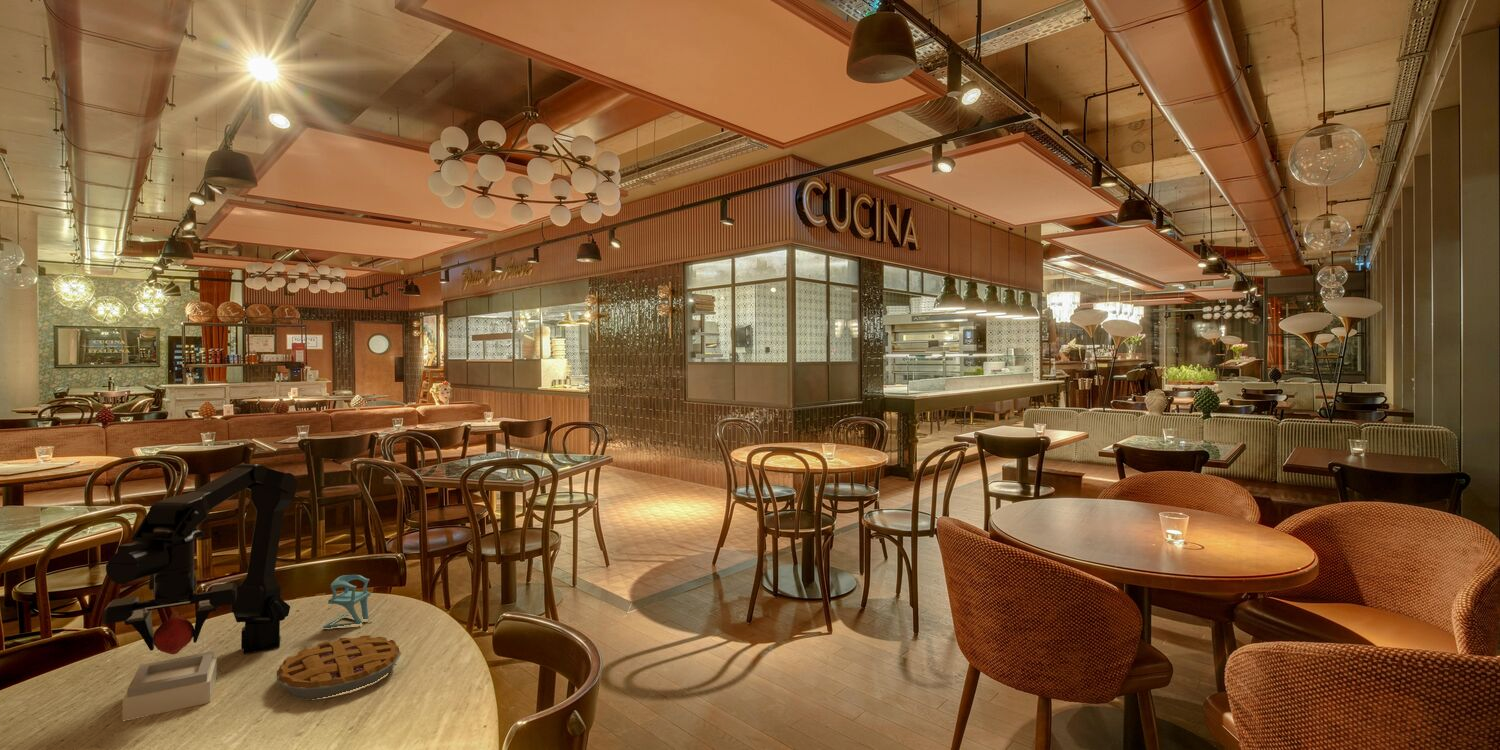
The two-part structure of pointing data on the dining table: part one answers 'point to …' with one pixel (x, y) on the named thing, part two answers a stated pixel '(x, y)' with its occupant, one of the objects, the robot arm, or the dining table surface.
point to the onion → (173, 634)
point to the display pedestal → (170, 685)
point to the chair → (349, 598)
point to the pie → (337, 666)
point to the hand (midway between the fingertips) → (174, 645)
